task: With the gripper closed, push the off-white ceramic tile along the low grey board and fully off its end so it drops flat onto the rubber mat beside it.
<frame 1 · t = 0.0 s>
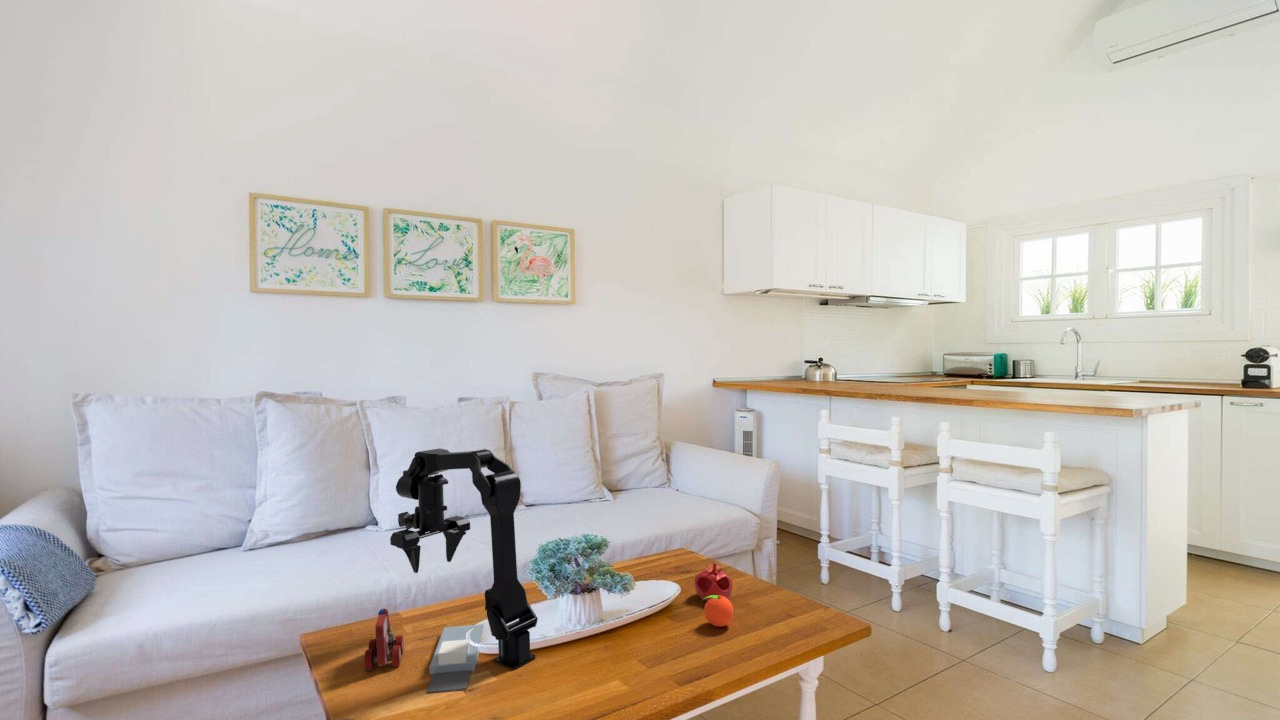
hand: (432, 567, 152), 15 cm above the table, tool pointing down, fingers open, 9 cm apart
rubber mat: (449, 682, 127), on the table
clementine: (716, 626, 150), on the table
red toy vehicle: (384, 662, 136), on the table
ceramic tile: (454, 657, 133), point 2 cm above the table, touching grey board
pomegranate: (713, 598, 167), on the table
grey board: (458, 651, 140), on the table
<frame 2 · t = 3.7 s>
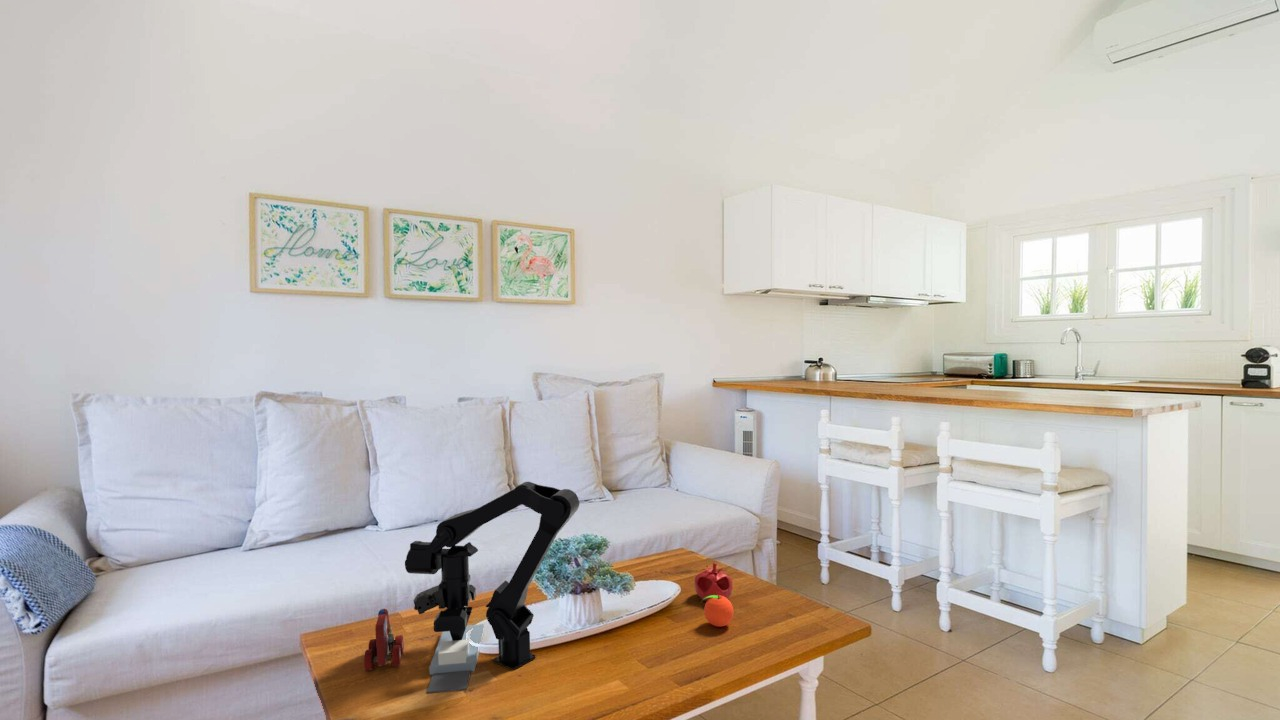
hand: (457, 646, 137), 2 cm above the table, tool pointing down, fingers closed
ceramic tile: (454, 657, 133), point 2 cm above the table, touching gripper
everything else where it was.
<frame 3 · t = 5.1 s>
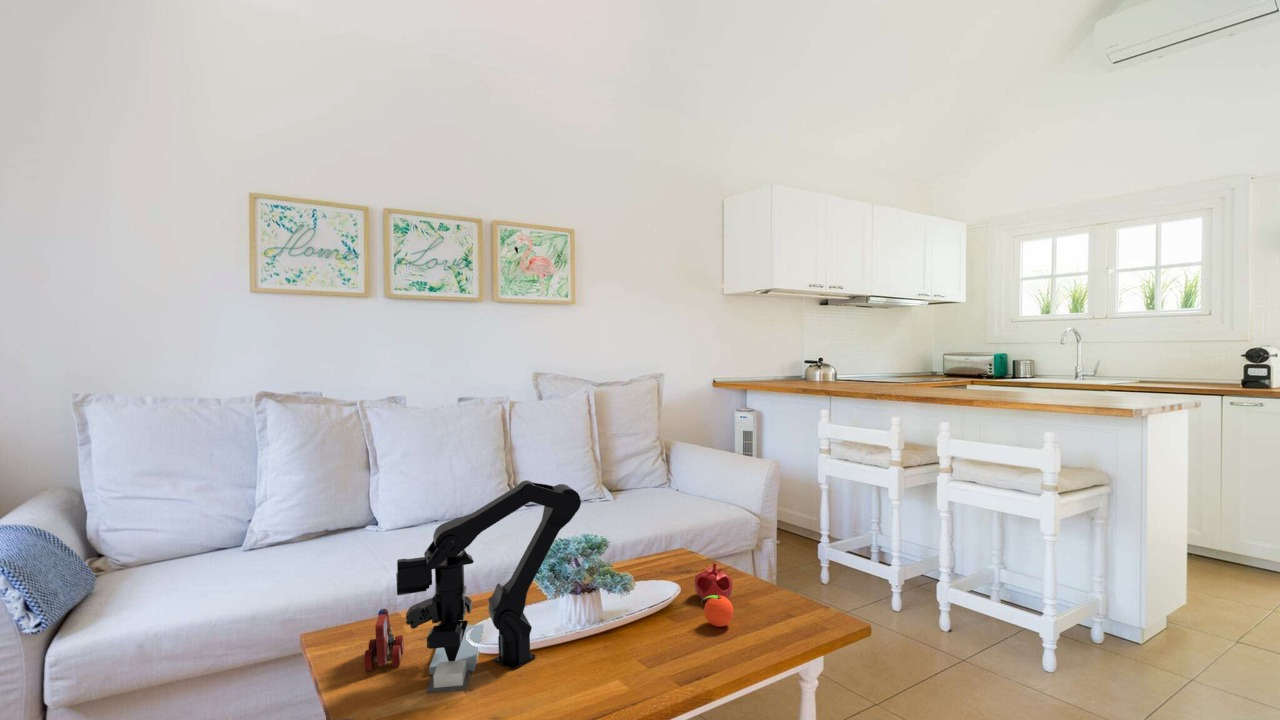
hand: (451, 662, 130), 2 cm above the table, tool pointing down, fingers closed
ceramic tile: (450, 679, 127), resting on rubber mat, touching gripper
everything else where it was.
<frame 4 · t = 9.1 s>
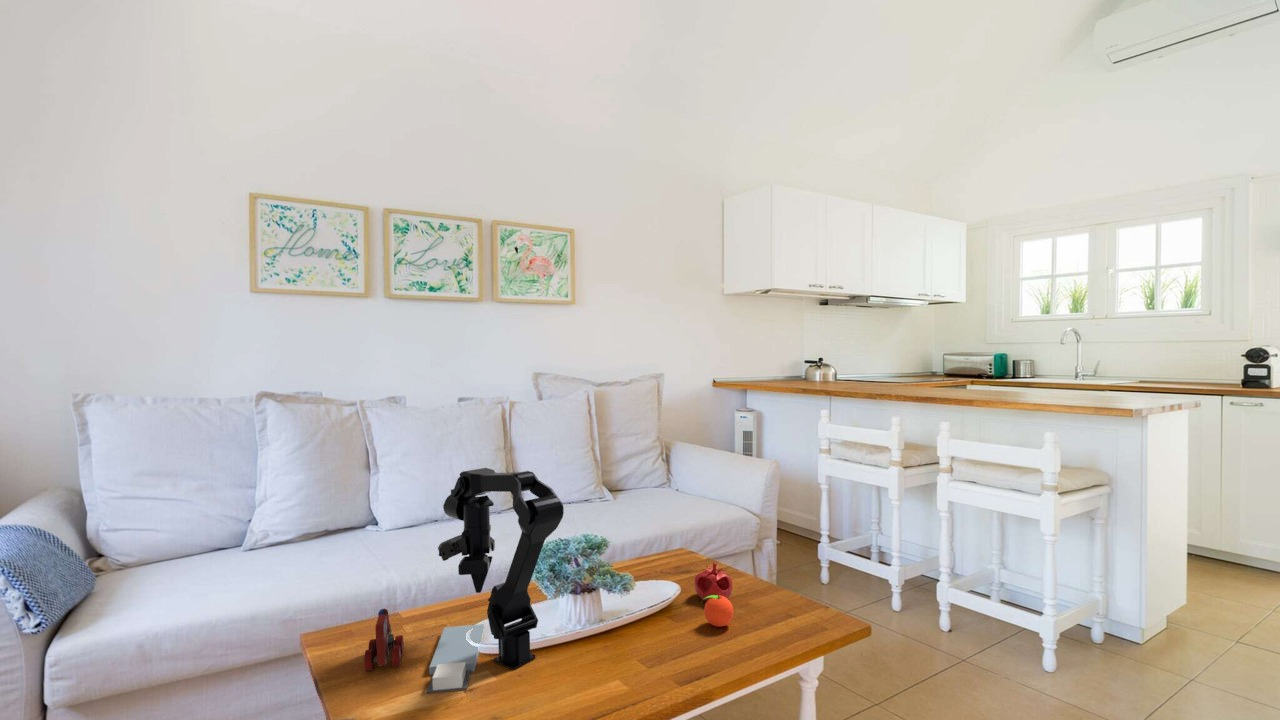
hand: (478, 592, 145), 11 cm above the table, tool pointing down, fingers closed
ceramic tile: (449, 681, 126), resting on rubber mat
everything else where it was.
at the end: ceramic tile resting on rubber mat; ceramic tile 0.5 cm from the rubber mat (horizontally); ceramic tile tilted 0° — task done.
